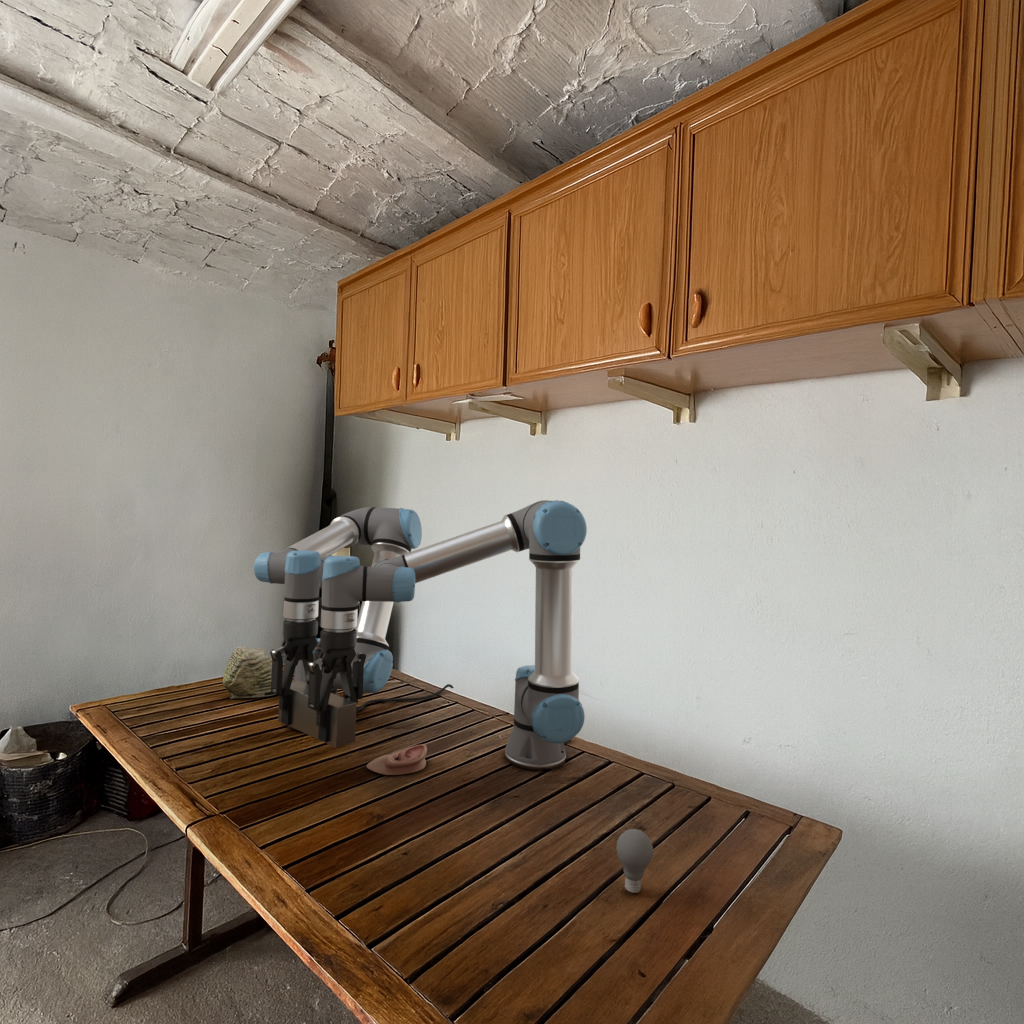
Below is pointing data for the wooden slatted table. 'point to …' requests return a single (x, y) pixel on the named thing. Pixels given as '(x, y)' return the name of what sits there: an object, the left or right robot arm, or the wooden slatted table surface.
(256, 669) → the fossil
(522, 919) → the wooden slatted table surface
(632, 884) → the light bulb
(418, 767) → the anatomical model
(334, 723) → the bar
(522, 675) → the right robot arm
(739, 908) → the wooden slatted table surface
